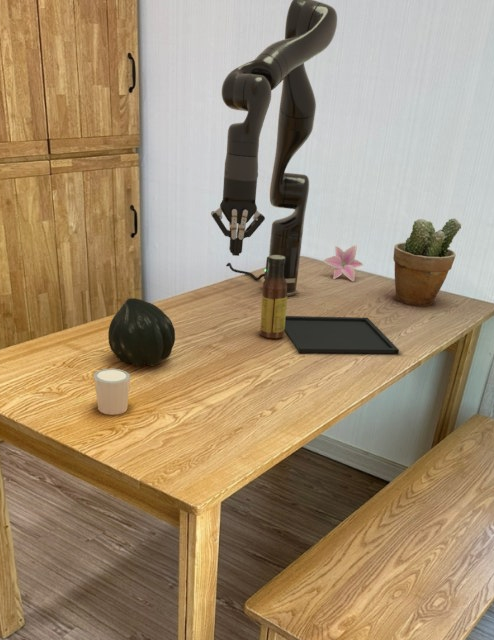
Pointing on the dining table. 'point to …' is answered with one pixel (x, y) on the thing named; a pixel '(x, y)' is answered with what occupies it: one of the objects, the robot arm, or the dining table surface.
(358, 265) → the lily
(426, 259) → the potted plant
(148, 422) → the dining table surface
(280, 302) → the sauce bottle
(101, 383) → the white cup
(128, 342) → the squash
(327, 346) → the tray
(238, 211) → the robot arm
